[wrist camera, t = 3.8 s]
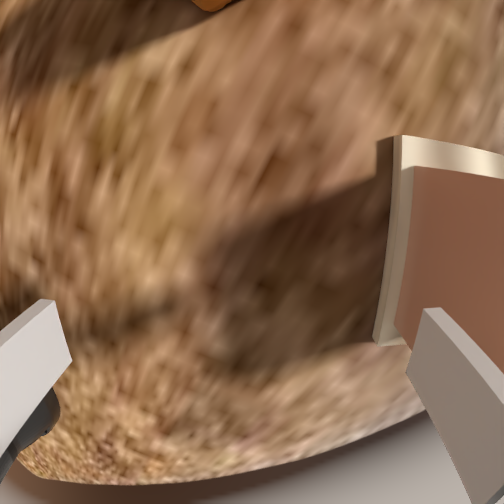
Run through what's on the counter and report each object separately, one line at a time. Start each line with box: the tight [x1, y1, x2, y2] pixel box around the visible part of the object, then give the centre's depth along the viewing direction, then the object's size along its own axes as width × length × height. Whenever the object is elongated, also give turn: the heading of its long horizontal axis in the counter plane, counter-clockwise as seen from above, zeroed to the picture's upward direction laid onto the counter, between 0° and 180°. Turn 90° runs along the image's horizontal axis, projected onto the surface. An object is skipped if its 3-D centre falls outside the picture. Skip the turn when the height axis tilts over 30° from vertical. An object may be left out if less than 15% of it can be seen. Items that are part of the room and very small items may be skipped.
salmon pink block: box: [394, 166, 504, 374], centre depth 14 cm, size 4×12×14 cm, turn 0°
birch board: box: [372, 135, 504, 347], centre depth 21 cm, size 20×16×2 cm
